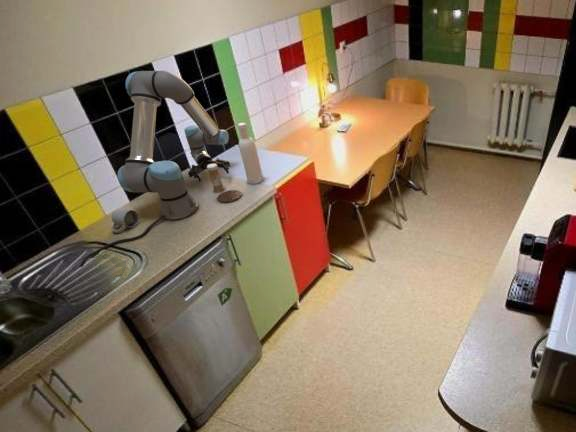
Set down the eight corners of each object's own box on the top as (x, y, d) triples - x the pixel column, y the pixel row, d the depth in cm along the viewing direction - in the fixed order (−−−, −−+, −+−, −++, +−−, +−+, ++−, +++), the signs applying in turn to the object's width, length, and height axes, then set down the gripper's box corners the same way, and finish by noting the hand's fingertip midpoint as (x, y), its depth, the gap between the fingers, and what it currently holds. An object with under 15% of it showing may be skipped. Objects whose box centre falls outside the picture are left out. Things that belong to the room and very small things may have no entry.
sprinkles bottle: (212, 191, 205) (204, 166, 198) (218, 187, 208) (211, 162, 201) (219, 192, 203) (211, 167, 196) (226, 188, 207) (218, 163, 199)
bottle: (266, 176, 215) (253, 120, 199) (260, 184, 208) (246, 126, 192) (251, 176, 216) (237, 120, 200) (245, 183, 210) (230, 126, 194)
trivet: (222, 205, 192) (221, 204, 192) (214, 196, 200) (214, 195, 200) (245, 197, 198) (244, 196, 197) (236, 189, 205) (236, 187, 205)
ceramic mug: (127, 219, 187) (120, 204, 182) (142, 221, 184) (135, 206, 180) (108, 232, 178) (100, 217, 174) (123, 235, 176) (115, 220, 172)
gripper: (229, 160, 227) (240, 174, 212) (181, 173, 217) (189, 189, 201) (225, 147, 223) (237, 160, 208) (176, 160, 213) (184, 175, 197)
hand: (213, 174), depth 205 cm, fingers open, 13 cm apart
